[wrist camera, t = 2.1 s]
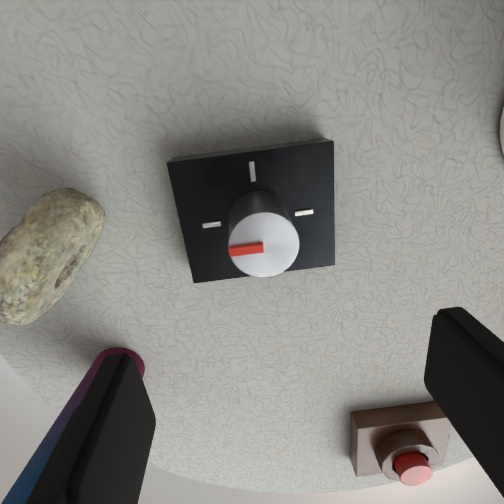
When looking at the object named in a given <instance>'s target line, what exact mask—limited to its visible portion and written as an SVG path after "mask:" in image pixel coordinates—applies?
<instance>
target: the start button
mask: <svg viewBox="0 0 504 504" xmlns="http://www.w3.org/2000/svg"><path fill="white" fill-rule="evenodd" d="M393 465H394V467H395V470H396V472H397V474H398V476H399V479H400V481H401V482H402V483H403V484H405V485H409V486H414V485H419V484H422V483H424V482H426V481H427V480H429V479H430V478H431V476H432V469H431V467H430V466H429V464H428V462H427V460H426V458H425V456H424V455H423V453H421V452H417V451H415V452H407V453H405V454H403V455H401V456H399V457H397V458H396V459H395V461H394V462H393Z"/></svg>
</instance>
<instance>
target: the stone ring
mask: <svg viewBox="0 0 504 504" xmlns="http://www.w3.org/2000/svg"><path fill="white" fill-rule="evenodd" d="M105 216H106V215H105V212H104V210H103V208H102V207H101V206H100V204H99V203H98V202H97V201H95V200H94V199H92V198H91V197H89V196H87V195H86V194H84V193H82V192H80V191H77V190H75V189H72V188H65V189H56V190H54V191H51V192H50V193H47V194H44V195H43V196H42V197H40V198H39V199H38V201H37V203H36V204H35V205H33V206H32V207H31V208H30V209H29V210H28V211H27V212H26V214H25V215H24V217H23V220H22V222H21V223H20V224H19V225H18V226H16V227H14V228H12V229H11V230H10V231H9V232H8V233H7V234H6V235H5V236H4V237H3V238H2V240H1V241H0V322H1V323H8V324H14V325H25V324H28V323H31V322H33V321H35V320H36V319H37V318H39V317H40V316H41V315H42V314H43V313H45V312H46V311H47V310H49V309H50V308H51V307H52V306H53V305H54V304H55V303H56V302H57V301H58V300H59V299H60V298H61V297H62V296H63V294H64V293H65V291H66V290H67V289H68V288H69V287H70V285H71V284H72V282H73V281H74V279H75V276H76V274H77V272H78V271H79V270H80V268H81V266H82V263H83V262H84V260H85V259H86V258H87V257H88V256H90V254H91V253H92V251H93V249H94V247H95V244H96V243H97V240H98V237H99V236H100V234H101V232H102V230H103V223H104V219H105Z"/></svg>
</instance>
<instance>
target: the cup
mask: <svg viewBox="0 0 504 504" xmlns="http://www.w3.org/2000/svg"><path fill="white" fill-rule="evenodd" d="M123 352H127V353H128V355H129V356H133V357H134V358H135V360H136V363H137V366H138V369H139V371H140V374H141V377H142V379H143V375H144V370H145V366H144V363H143V360H142V359H141V358H140V357H139V356H138V355H137V354H136V353H134V352H133V351H131V350H128V349H125V348H110V349H107V350H105V351H103V352H101V353H100V354H99V355H98V357H97V358H96V360H95V361H94V363H93V364H92V366H91V367H90V369H89V370H88V372H87V373H86V375H85V376H84V378H83V379H82V381H81V383H80V384H79V386H78V387H77V389H76V390H75V392H74V393H73V395H72V396H71V398H70V399H69V401H68V402H67V404H66V405H65V407H64V409H63V410H62V412H61V413H60V415H59V416H58V418H57V419H56V421H55V422H54V424H53V425H52V427H51V428H50V430H49V432H48V433H47V434H46V436H45V438H44V439H43V441H42V442H41V444H40V445H39V447H38V448H37V450H36V452H35V453H34V454H33V456H32V458H31V459H30V460H29V462H28V463H27V465H26V467H25V468H24V470H23V471H22V473H21V474H20V476H19V477H18V479H17V480H16V482H15V483H14V485H13V486H12V488H11V489H10V491H9V492H8V494H7V496H6V497H5V499H4V500H3V502H2V503H1V504H25V503H26V501H27V499H28V498H29V496H30V494H31V492H32V490H33V488H34V486H35V484H36V482H37V480H38V478H39V476H40V474H41V473H42V471H43V469H44V467H45V465H46V463H47V461H48V459H49V457H50V455H51V453H52V451H53V449H54V448H55V446H56V444H57V442H58V440H59V438H60V436H61V434H62V432H63V430H64V428H65V426H66V424H67V423H68V421H69V419H70V417H71V415H72V413H73V411H74V410H75V408H76V407H77V406H78V405H80V404H81V402H82V400H83V398H84V396H85V394H86V392H87V390H88V388H89V386H90V384H91V382H92V380H93V378H94V376H95V375H96V373H97V371H98V369H99V367H100V365H101V363H102V361H103V359H104V357H105V356H106V355H108V354H115V353H123Z"/></svg>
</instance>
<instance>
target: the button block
mask: <svg viewBox="0 0 504 504" xmlns="http://www.w3.org/2000/svg"><path fill="white" fill-rule="evenodd" d="M451 426H452V424H451V423H450V421H449V420H448V418H447V417H446V416H445V414H444V413H443V411H442V410H441V409H440V407H439V406H438V404H437V403H436V402H427V403H419V404H412V405H404V406H396V407H388V408H381V409H373V410H365V411H357V412H351V455H350V460H351V463H352V466H353V469H354V472H355V475H356V477H358V476H366V475H373V474H381V473H383V474H384V475H385V476H386V477H387V478H389V479H392V480H397V481H400V479H399V476H398V474H397V472H396V470H395V467H394V465H393V462H394V461H395V459H396V458H397V457H399V456H401V455H403V454H405V453H407V452H415V451H417V452H421V453H423V455H424V456H425V458H426V460H427V462H428V464H429V466H430V467H431V469H432V470H433V469H434V468H435V467H436V466H443V463H444V459H445V454H446V449H447V445H448V440H449V435H450V431H451Z"/></svg>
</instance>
